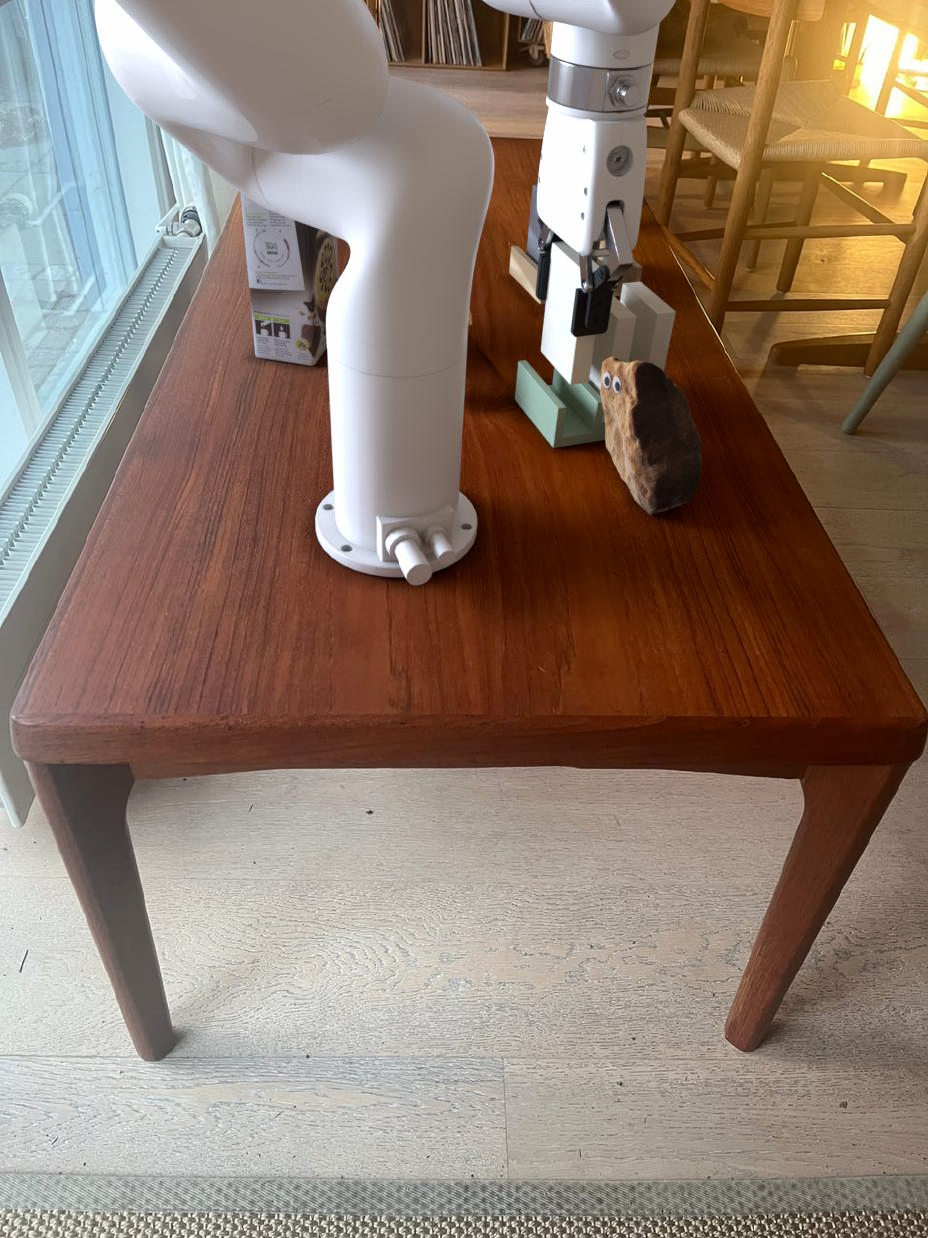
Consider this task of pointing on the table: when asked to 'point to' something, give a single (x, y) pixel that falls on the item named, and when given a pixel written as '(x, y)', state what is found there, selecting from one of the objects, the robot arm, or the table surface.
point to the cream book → (565, 317)
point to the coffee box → (288, 284)
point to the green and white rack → (597, 369)
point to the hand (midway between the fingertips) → (570, 313)
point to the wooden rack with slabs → (527, 264)
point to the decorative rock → (650, 434)
